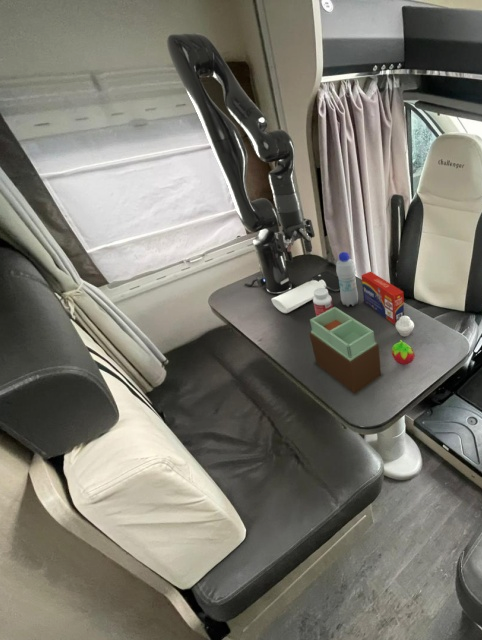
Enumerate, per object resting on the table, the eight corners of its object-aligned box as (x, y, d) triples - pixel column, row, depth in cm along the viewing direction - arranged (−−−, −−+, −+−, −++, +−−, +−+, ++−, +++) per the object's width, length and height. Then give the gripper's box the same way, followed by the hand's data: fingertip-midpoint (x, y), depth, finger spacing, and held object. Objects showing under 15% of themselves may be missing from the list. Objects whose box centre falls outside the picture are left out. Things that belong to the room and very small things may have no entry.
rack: (316, 363, 110) (305, 319, 99) (342, 347, 116) (335, 304, 105) (354, 394, 101) (347, 349, 90) (380, 375, 107) (377, 331, 95)
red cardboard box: (404, 320, 127) (403, 291, 119) (395, 324, 125) (394, 296, 117) (372, 298, 137) (370, 271, 129) (364, 302, 135) (361, 275, 127)
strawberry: (403, 376, 106) (402, 350, 100) (388, 362, 111) (386, 337, 104) (418, 367, 109) (418, 342, 102) (403, 354, 113) (402, 329, 107)
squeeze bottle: (273, 306, 133) (269, 295, 129) (316, 285, 144) (314, 273, 140) (288, 317, 128) (285, 305, 125) (332, 293, 139) (330, 282, 136)
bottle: (356, 309, 132) (350, 258, 118) (338, 307, 133) (330, 256, 119) (361, 299, 136) (356, 249, 123) (344, 297, 137) (337, 247, 124)
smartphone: (325, 270, 150) (350, 282, 143) (325, 272, 151) (350, 284, 144) (310, 278, 146) (335, 290, 139) (310, 279, 147) (335, 292, 139)
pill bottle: (329, 325, 125) (324, 297, 117) (313, 321, 126) (307, 294, 118) (337, 315, 129) (333, 288, 121) (322, 312, 130) (317, 285, 123)
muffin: (392, 332, 122) (391, 315, 117) (406, 325, 124) (406, 308, 120) (403, 341, 118) (402, 324, 113) (417, 334, 121) (418, 317, 116)
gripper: (296, 198, 117) (307, 245, 127) (261, 212, 108) (275, 262, 119) (313, 202, 114) (323, 250, 124) (279, 217, 105) (292, 268, 116)
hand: (300, 256), depth 121 cm, fingers open, 8 cm apart
